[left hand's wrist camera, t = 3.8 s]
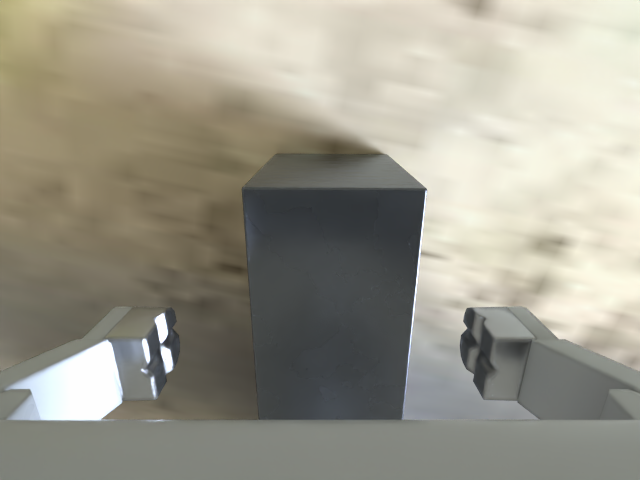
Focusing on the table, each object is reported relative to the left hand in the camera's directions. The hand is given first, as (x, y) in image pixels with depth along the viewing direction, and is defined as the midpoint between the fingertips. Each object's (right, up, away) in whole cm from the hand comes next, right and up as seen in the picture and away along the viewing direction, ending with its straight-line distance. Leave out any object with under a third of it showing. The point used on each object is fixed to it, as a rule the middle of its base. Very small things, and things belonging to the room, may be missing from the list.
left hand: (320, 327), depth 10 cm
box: (+1, -4, +14) cm, 15 cm away
